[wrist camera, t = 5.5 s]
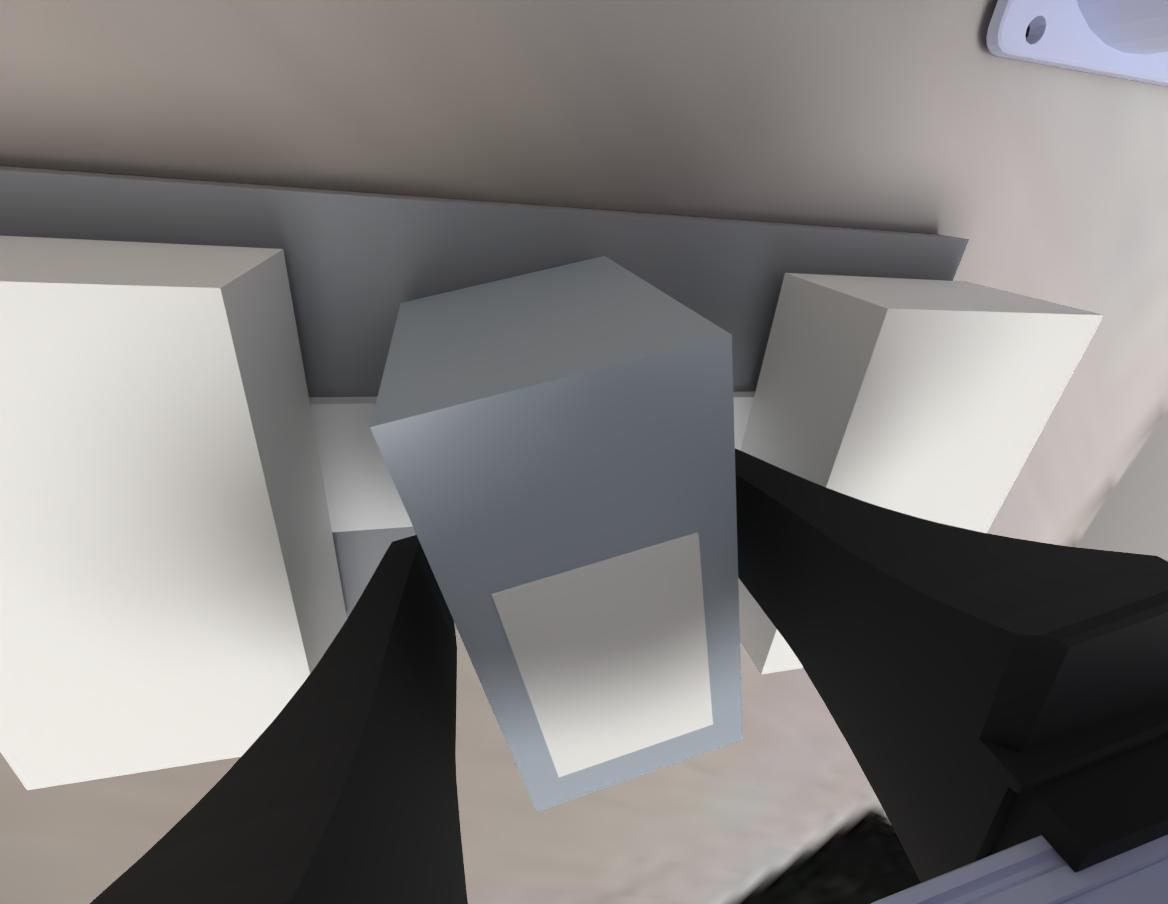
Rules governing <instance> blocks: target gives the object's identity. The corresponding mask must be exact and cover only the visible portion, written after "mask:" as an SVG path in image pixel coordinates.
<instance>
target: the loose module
mask: <svg viewBox="0 0 1168 904" xmlns="http://www.w3.org/2000/svg"><path fill="white" fill-rule="evenodd" d="M370 429H371V431H372V433H373V435H374V438H375V440H376V442H377V445H378V447H379V449H380V452H381V454H382V456H383V459H384V461H385V463H386V465H387V468H388V470H389V472H390V475H391V477H392V479H393V482H394V484H395V486H396V488H397V491H398V493H399V495H400V498H401V500H402V502H403V505H404V507H405V509H406V512H407V514H408V516H409V518H410V521H411V523H412V525H413V528H414V530H415V532H416V535H417V537H418V539H419V541H420V544H421V546H422V548H423V551H424V553H425V555H426V558H427V560H428V562H429V564H430V567H431V569H432V571H433V574H434V576H435V578H436V581H437V583H438V585H439V588H440V590H441V592H442V594H443V597H444V599H445V601H446V604H447V606H448V608H449V611H450V613H451V615H452V617H453V620H454V622H455V624H456V627H457V629H458V631H459V634H460V636H461V638H462V641H463V643H464V645H465V647H466V650H467V652H468V654H469V657H470V659H471V661H472V664H473V666H474V668H475V670H476V673H477V675H478V677H479V680H480V682H481V684H482V687H483V689H484V691H485V694H486V696H487V698H488V700H489V703H490V705H491V707H492V710H493V712H494V714H495V717H496V719H497V721H498V723H499V726H500V728H501V730H502V733H503V735H504V737H505V740H506V742H507V744H508V746H509V749H510V751H511V753H512V756H513V758H514V760H515V763H516V765H517V767H518V770H519V772H520V774H521V776H522V779H523V781H524V783H525V786H526V788H527V790H528V793H529V795H530V797H531V799H532V802H533V804H534V806H535V809H536V811H537V812H538V811H541V810H544V809H546V808H549V807H552V806H555V805H558V804H561V803H564V802H566V801H569V800H572V799H575V798H578V797H581V796H583V795H586V794H589V793H592V792H595V791H598V790H601V789H603V788H606V787H609V786H612V785H615V784H618V783H621V782H623V781H626V780H629V779H632V778H635V777H638V776H641V775H643V774H646V773H649V772H652V771H655V770H658V769H660V768H663V767H666V766H669V765H672V764H675V763H678V762H680V761H683V760H686V759H689V758H692V757H695V756H698V755H700V754H703V753H706V752H709V751H712V750H715V749H718V748H720V747H723V746H726V745H729V744H732V743H735V742H737V741H740V740H743V735H742V698H741V661H740V624H739V587H738V550H737V513H736V476H735V439H734V402H733V365H732V335H731V334H730V333H728V332H727V331H725V330H723V329H722V328H720V327H719V326H717V325H715V324H714V323H712V322H710V321H709V320H707V319H706V318H704V317H702V316H701V315H699V314H698V313H696V312H694V311H693V310H691V309H690V308H688V307H686V306H685V305H683V304H681V303H680V302H678V301H677V300H675V299H673V298H672V297H670V296H669V295H667V294H665V293H664V292H662V291H660V290H659V289H657V288H656V287H654V286H652V285H651V284H649V283H648V282H646V281H644V280H643V279H641V278H640V277H638V276H636V275H635V274H633V273H631V272H630V271H628V270H627V269H625V268H623V267H622V266H620V265H619V264H617V263H615V262H614V261H612V260H611V259H609V258H607V257H606V256H602V257H598V258H593V259H589V260H585V261H580V262H576V263H572V264H567V265H563V266H559V267H554V268H550V269H546V270H541V271H537V272H533V273H528V274H524V275H520V276H515V277H511V278H507V279H502V280H498V281H494V282H489V283H485V284H481V285H476V286H472V287H468V288H463V289H459V290H455V291H450V292H446V293H442V294H437V295H433V296H429V297H424V298H420V299H416V300H411V301H407V302H403V303H401V304H400V308H399V312H398V316H397V320H396V324H395V328H394V332H393V336H392V340H391V344H390V348H389V352H388V356H387V360H386V365H385V369H384V373H383V377H382V381H381V385H380V389H379V393H378V397H377V401H376V405H375V409H374V413H373V417H372V421H371V425H370Z"/></svg>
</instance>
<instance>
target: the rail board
mask: <svg viewBox="0 0 1168 904" xmlns="http://www.w3.org/2000/svg"><path fill="white" fill-rule="evenodd" d="M968 240H969V239H963V238H957V237H951V236H944V235H938V234H924V233H910V232H897V231H883V230H869V229H856V228H842V227H828V226H815V225H801V224H787V223H774V222H760V221H746V220H733V219H719V218H705V217H692V216H678V215H664V214H651V213H637V212H623V211H610V210H596V209H582V208H568V207H555V206H541V205H527V204H514V203H500V202H486V201H473V200H459V199H445V198H432V197H418V196H404V195H391V194H377V193H363V192H350V191H336V190H322V189H309V188H295V187H281V186H268V185H254V184H240V183H227V182H213V181H199V180H186V179H172V178H158V177H145V176H131V175H117V174H104V173H90V172H76V171H62V170H49V169H35V168H21V167H8V166H0V752H1V753H2V755H3V756H4V758H5V759H6V761H7V762H8V763H9V765H10V766H11V768H12V769H13V771H14V772H15V773H16V775H17V776H18V778H19V779H20V781H21V782H22V783H23V785H24V786H25V788H26V789H27V790H32V789H38V788H44V787H51V786H57V785H63V784H70V783H76V782H82V781H89V780H95V779H101V778H108V777H114V776H120V775H127V774H133V773H139V772H146V771H152V770H159V769H165V768H171V767H178V766H184V765H190V764H197V763H203V762H209V761H216V760H222V759H228V758H235V757H241V756H242V755H243V754H244V753H245V752H246V751H247V750H248V749H249V748H250V747H251V745H252V744H253V743H254V742H255V741H256V740H257V739H258V738H259V736H260V735H261V734H262V733H263V732H264V731H265V730H266V729H267V728H268V726H269V725H270V724H271V723H272V722H273V721H274V719H275V718H276V717H277V716H278V715H279V713H280V712H281V711H282V710H283V708H284V707H285V706H286V705H287V703H288V702H289V701H290V699H291V698H292V697H293V696H294V694H295V693H296V692H297V691H298V689H299V688H300V687H301V686H302V684H303V683H304V682H305V680H306V679H307V678H308V676H309V675H310V674H311V672H312V671H313V669H314V668H315V667H316V665H317V664H318V662H319V661H320V659H321V658H322V656H323V655H324V653H325V652H326V650H327V649H328V647H329V646H330V644H331V643H332V641H333V640H334V638H335V637H336V635H337V634H338V632H339V631H340V629H341V628H342V626H343V625H344V623H345V621H346V620H347V618H348V616H349V615H350V613H351V611H352V610H353V608H354V606H355V605H356V603H357V601H358V600H359V598H360V596H361V595H362V593H363V591H364V590H365V588H366V586H367V584H368V583H369V581H370V579H371V577H372V576H373V574H374V572H375V570H376V568H377V567H378V565H379V563H380V561H381V560H382V558H383V556H384V554H385V553H386V551H387V549H388V548H389V546H390V544H391V543H392V542H393V541H396V540H400V539H403V538H407V537H410V536H414V535H416V532H415V530H414V528H413V525H412V523H411V521H410V518H409V516H408V514H407V512H406V509H405V507H404V505H403V502H402V500H401V498H400V495H399V493H398V491H397V488H396V486H395V484H394V482H393V479H392V477H391V475H390V472H389V470H388V468H387V465H386V463H385V461H384V459H383V456H382V454H381V452H380V449H379V447H378V445H377V442H376V440H375V438H374V435H373V433H372V431H371V429H370V425H371V421H372V417H373V413H374V409H375V405H376V401H377V397H378V393H379V389H380V385H381V381H382V377H383V373H384V369H385V365H386V360H387V356H388V352H389V348H390V344H391V340H392V336H393V332H394V328H395V324H396V320H397V316H398V312H399V308H400V304H401V303H403V302H407V301H411V300H416V299H420V298H424V297H429V296H433V295H437V294H442V293H446V292H450V291H455V290H459V289H463V288H468V287H472V286H476V285H481V284H485V283H489V282H494V281H498V280H502V279H507V278H511V277H515V276H520V275H524V274H528V273H533V272H537V271H541V270H546V269H550V268H554V267H559V266H563V265H567V264H572V263H576V262H580V261H585V260H589V259H593V258H598V257H602V256H606V257H607V258H609V259H611V260H612V261H614V262H615V263H617V264H619V265H620V266H622V267H623V268H625V269H627V270H628V271H630V272H631V273H633V274H635V275H636V276H638V277H640V278H641V279H643V280H644V281H646V282H648V283H649V284H651V285H652V286H654V287H656V288H657V289H659V290H660V291H662V292H664V293H665V294H667V295H669V296H670V297H672V298H673V299H675V300H677V301H678V302H680V303H681V304H683V305H685V306H686V307H688V308H690V309H691V310H693V311H694V312H696V313H698V314H699V315H701V316H702V317H704V318H706V319H707V320H709V321H710V322H712V323H714V324H715V325H717V326H719V327H720V328H722V329H723V330H725V331H727V332H728V333H730V334H731V335H732V365H733V402H734V439H735V449H738V450H740V451H743V452H745V453H747V454H750V455H752V456H754V457H756V458H759V459H761V460H763V461H765V462H768V463H770V464H772V465H774V466H777V467H779V468H781V469H783V470H786V471H788V472H790V473H792V474H795V475H797V476H799V477H802V478H804V479H807V480H809V481H811V482H814V483H816V484H819V485H821V486H824V487H826V488H829V489H831V490H834V491H837V492H839V493H842V494H845V495H848V496H850V497H853V498H856V499H859V500H861V501H864V502H867V503H870V504H873V505H877V506H880V507H883V508H886V509H890V510H893V511H897V512H900V513H903V514H907V515H910V516H914V517H917V518H921V519H925V520H929V521H933V522H937V523H941V524H945V525H950V526H955V527H959V528H964V529H968V530H973V531H977V532H982V533H987V531H988V530H989V528H990V526H991V524H992V522H993V520H994V518H995V517H996V515H997V513H998V511H999V509H1000V507H1001V505H1002V504H1003V502H1004V500H1005V498H1006V496H1007V494H1008V493H1009V491H1010V489H1011V487H1012V485H1013V483H1014V481H1015V480H1016V478H1017V476H1018V474H1019V472H1020V470H1021V468H1022V467H1023V465H1024V463H1025V461H1026V459H1027V457H1028V455H1029V454H1030V452H1031V450H1032V448H1033V446H1034V444H1035V442H1036V441H1037V439H1038V437H1039V435H1040V433H1041V431H1042V429H1043V428H1044V426H1045V424H1046V422H1047V420H1048V418H1049V417H1050V415H1051V413H1052V411H1053V409H1054V407H1055V405H1056V404H1057V402H1058V400H1059V398H1060V396H1061V394H1062V392H1063V391H1064V389H1065V387H1066V385H1067V383H1068V381H1069V379H1070V378H1071V376H1072V374H1073V372H1074V370H1075V368H1076V366H1077V365H1078V363H1079V361H1080V359H1081V357H1082V355H1083V353H1084V352H1085V350H1086V348H1087V346H1088V344H1089V342H1090V340H1091V339H1092V337H1093V335H1094V333H1095V331H1096V329H1097V328H1098V326H1099V324H1100V322H1101V320H1102V318H1103V316H1104V315H1101V314H1097V313H1093V312H1089V311H1085V310H1080V309H1076V308H1072V307H1068V306H1064V305H1060V304H1056V303H1052V302H1048V301H1044V300H1040V299H1035V298H1031V297H1027V296H1023V295H1019V294H1015V293H1011V292H1007V291H1003V290H999V289H995V288H990V287H986V286H982V285H978V284H974V283H970V282H966V281H953V278H954V276H955V273H956V271H957V268H958V266H959V263H960V261H961V258H962V256H963V253H964V250H965V248H966V245H967V243H968ZM738 587H739V624H740V641H741V643H742V644H743V646H744V648H745V649H746V651H747V653H748V654H749V656H750V657H751V659H752V661H753V662H754V664H755V665H756V667H757V669H758V670H759V672H760V674H767V673H773V672H780V671H786V670H792V669H799V668H803V666H802V664H801V663H800V661H799V659H798V658H797V657H796V655H795V654H794V652H793V651H792V649H791V648H790V646H789V645H788V643H787V642H786V641H785V639H784V638H783V637H782V635H781V634H780V633H779V631H778V630H777V629H776V627H775V626H774V625H773V623H772V622H771V621H770V619H769V618H768V617H767V615H766V614H765V613H764V611H763V610H762V608H761V607H760V606H759V604H758V603H757V602H756V600H755V599H754V598H753V596H752V595H751V594H750V592H749V591H748V590H747V588H746V587H745V586H744V584H743V583H742V582H741V580H740V579H739V578H738ZM454 626H455V629H457V627H456V624H455V622H454Z"/></svg>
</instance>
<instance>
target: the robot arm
mask: <svg viewBox="0 0 1168 904" xmlns="http://www.w3.org/2000/svg"><path fill="white" fill-rule="evenodd" d="M1028 25H1030V31H1029V35H1028V37H1027V39H1026V37H1025V35H1026V30H1027V27H1028ZM986 38H987V47H988V49H989V51H990V53H992V54H993V55H995V56H999V57H1005V58H1011V59H1016V60H1022V61H1027V62H1033V63H1038V64H1044V65H1050V66H1055V67H1061V68H1066V69H1072V70H1078V71H1083V72H1089V73H1094V74H1100V75H1105V76H1111V77H1117V78H1122V79H1128V80H1133V81H1139V82H1145V83H1150V84H1156V85H1161V86H1167V87H1168V0H998V1H997V4H996V7H995V10H994V13H993V16H992V19H991V21H990V24H989V27H988V32H987V37H986ZM735 476H736V513H737V550H738V578H739V579H740V580H741V582H742V583H743V584H744V586H745V587H746V588H747V590H748V591H749V592H750V594H751V595H752V596H753V598H754V599H755V600H756V602H757V603H758V604H759V606H760V607H761V608H762V610H763V611H764V613H765V614H766V615H767V617H768V618H769V619H770V621H771V622H772V623H773V625H774V626H775V627H776V629H777V630H778V631H779V633H780V634H781V635H782V637H783V638H784V639H785V641H786V642H787V643H788V645H789V646H790V648H791V649H792V651H793V652H794V654H795V655H796V657H797V658H798V659H799V661H800V663H801V664H802V666H803V668H804V669H805V671H806V673H807V674H808V676H809V678H810V679H811V681H812V683H813V684H814V686H815V688H816V689H817V691H818V693H819V694H820V696H821V698H822V699H823V701H824V703H825V704H826V706H827V708H828V709H829V711H830V713H831V715H832V716H833V718H834V720H835V722H836V723H837V725H838V727H839V729H840V730H841V732H842V734H843V736H844V737H845V739H846V741H847V743H848V744H849V746H850V748H851V750H852V752H853V753H854V755H855V757H856V759H857V761H858V763H859V764H860V766H861V768H862V770H863V772H864V774H865V776H866V777H867V779H868V781H869V783H870V785H871V787H872V788H873V790H874V792H875V794H876V796H877V798H878V799H879V801H880V803H881V805H882V807H883V809H884V811H885V813H886V815H887V817H888V819H889V821H890V823H891V825H892V827H893V828H894V830H895V832H896V834H897V836H898V838H899V840H900V842H901V844H902V846H903V848H904V850H905V852H906V854H907V856H908V858H909V860H910V862H911V864H912V866H913V868H914V870H915V872H916V874H917V876H918V878H919V880H920V882H921V884H918V885H916V886H913V887H911V888H908V889H906V890H903V891H901V892H898V893H896V894H893V895H891V896H888V897H886V898H883V899H881V900H878V901H876V902H873V903H871V904H1168V562H1167V561H1165V560H1164V559H1162V558H1160V557H1157V556H1151V555H1141V554H1132V553H1123V552H1113V551H1103V550H1094V549H1085V548H1075V547H1067V546H1060V545H1053V544H1047V543H1040V542H1034V541H1027V540H1021V539H1014V538H1009V537H1003V536H998V535H992V534H987V533H982V532H977V531H973V530H968V529H964V528H959V527H955V526H950V525H945V524H941V523H937V522H933V521H929V520H925V519H921V518H917V517H914V516H910V515H907V514H903V513H900V512H897V511H893V510H890V509H886V508H883V507H880V506H877V505H873V504H870V503H867V502H864V501H861V500H859V499H856V498H853V497H850V496H848V495H845V494H842V493H839V492H837V491H834V490H831V489H829V488H826V487H824V486H821V485H819V484H816V483H814V482H811V481H809V480H807V479H804V478H802V477H799V476H797V475H795V474H792V473H790V472H788V471H786V470H783V469H781V468H779V467H777V466H774V465H772V464H770V463H768V462H765V461H763V460H761V459H759V458H756V457H754V456H752V455H750V454H747V453H745V452H743V451H740V450H738V449H735ZM456 678H457V645H456V635H455V626H454V620H453V617H452V615H451V613H450V611H449V608H448V606H447V604H446V601H445V599H444V597H443V594H442V592H441V590H440V588H439V585H438V583H437V581H436V578H435V576H434V574H433V571H432V569H431V567H430V564H429V562H428V560H427V558H426V555H425V553H424V551H423V548H422V546H421V544H420V541H419V539H418V537H417V535H414V536H410V537H407V538H403V539H400V540H396V541H393V542H392V543H391V544H390V546H389V548H388V549H387V551H386V553H385V554H384V556H383V558H382V560H381V561H380V563H379V565H378V567H377V568H376V570H375V572H374V574H373V576H372V577H371V579H370V581H369V583H368V584H367V586H366V588H365V590H364V591H363V593H362V595H361V596H360V598H359V600H358V601H357V603H356V605H355V606H354V608H353V610H352V611H351V613H350V615H349V616H348V618H347V620H346V621H345V623H344V625H343V626H342V628H341V629H340V631H339V632H338V634H337V635H336V637H335V638H334V640H333V641H332V643H331V644H330V646H329V647H328V649H327V650H326V652H325V653H324V655H323V656H322V658H321V659H320V661H319V662H318V664H317V665H316V667H315V668H314V669H313V671H312V672H311V674H310V675H309V676H308V678H307V679H306V680H305V682H304V683H303V684H302V686H301V687H300V688H299V689H298V691H297V692H296V693H295V694H294V696H293V697H292V698H291V699H290V701H289V702H288V703H287V705H286V706H285V707H284V708H283V710H282V711H281V712H280V713H279V715H278V716H277V717H276V718H275V719H274V721H273V722H272V723H271V724H270V725H269V726H268V728H267V729H266V730H265V731H264V732H263V733H262V734H261V735H260V736H259V738H258V739H257V740H256V741H255V742H254V743H253V744H252V745H251V747H250V748H249V749H248V750H247V751H246V752H245V753H244V754H243V755H242V757H241V758H240V759H239V760H238V761H237V762H236V763H235V764H234V766H233V767H232V768H231V769H230V770H229V771H228V772H227V773H226V774H225V775H224V777H223V778H222V779H221V780H220V781H219V782H218V783H217V784H216V785H215V786H214V787H213V788H212V789H211V790H210V791H209V792H208V793H207V794H206V795H205V796H204V797H203V798H202V799H201V800H200V801H199V802H198V803H197V804H196V805H195V806H194V807H193V808H192V809H191V810H190V811H189V812H188V813H187V814H186V815H185V816H184V817H183V818H182V819H181V820H180V821H179V822H178V823H177V824H176V825H175V826H174V827H173V828H172V829H171V830H170V831H169V832H168V833H167V834H166V835H165V836H164V837H163V838H162V839H161V840H159V841H158V842H157V843H156V844H155V845H154V846H153V847H152V848H151V849H150V850H149V851H148V852H147V853H146V854H145V855H144V856H142V857H141V858H140V859H139V860H138V861H137V862H136V863H135V864H134V865H132V866H131V867H130V868H129V869H128V870H127V871H126V872H125V873H124V874H122V875H121V876H120V877H119V878H118V879H117V880H116V881H115V882H113V883H112V884H111V885H110V886H109V887H108V888H107V889H106V890H105V891H103V892H102V893H101V894H100V895H99V896H98V897H97V898H96V899H94V900H93V901H92V902H91V903H90V904H468V903H467V894H466V884H465V874H464V864H463V853H462V843H461V833H460V821H459V809H458V797H457V785H456V762H455V739H456Z"/></svg>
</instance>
